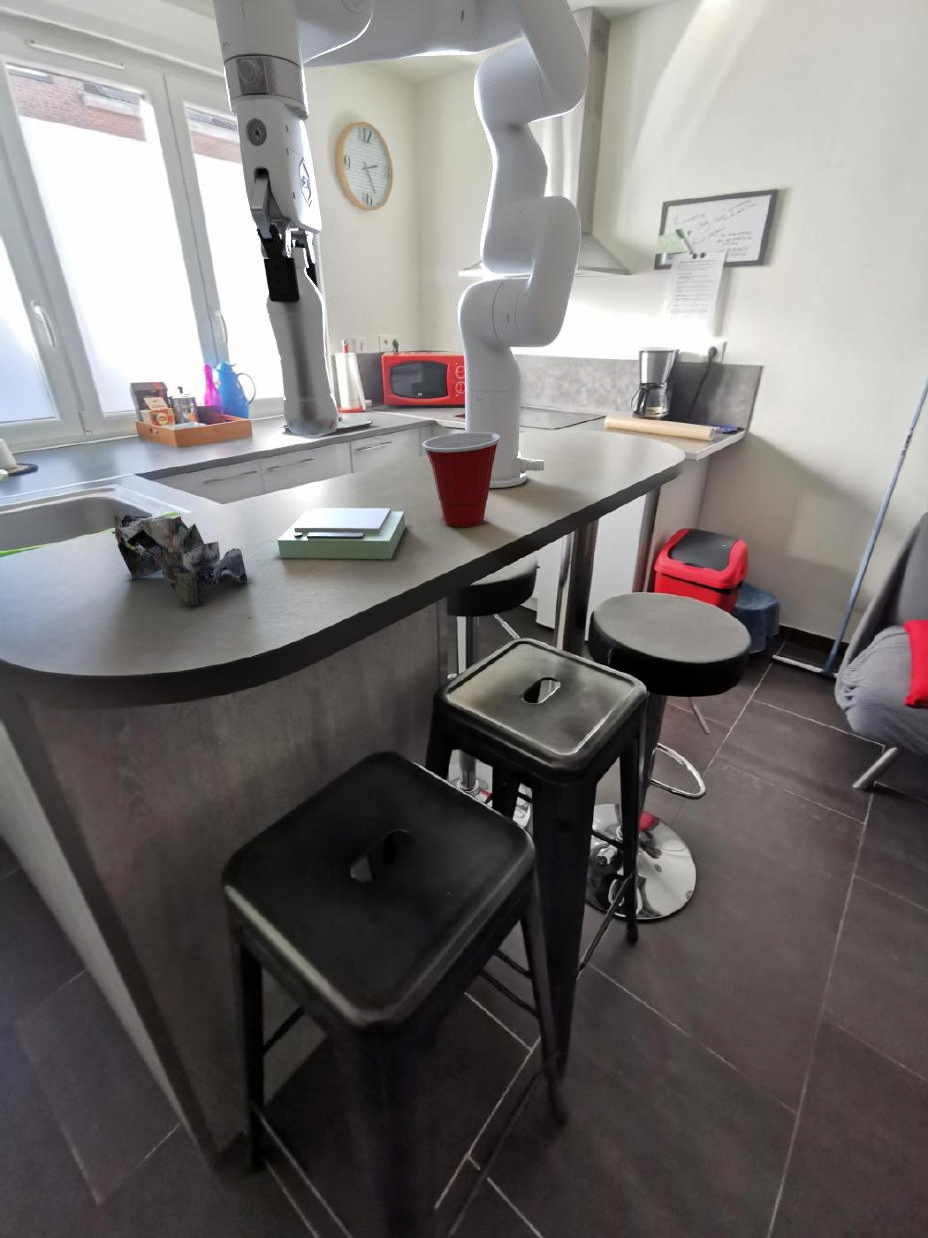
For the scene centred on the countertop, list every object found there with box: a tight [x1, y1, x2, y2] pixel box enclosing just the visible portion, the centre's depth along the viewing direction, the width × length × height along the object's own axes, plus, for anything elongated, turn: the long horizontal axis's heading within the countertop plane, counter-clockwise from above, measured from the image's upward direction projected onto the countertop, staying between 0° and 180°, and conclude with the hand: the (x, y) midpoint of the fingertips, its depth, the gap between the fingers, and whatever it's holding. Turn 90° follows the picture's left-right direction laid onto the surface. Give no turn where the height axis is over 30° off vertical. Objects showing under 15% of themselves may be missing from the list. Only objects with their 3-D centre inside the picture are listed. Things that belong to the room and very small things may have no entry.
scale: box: [277, 507, 406, 560], centre depth 75 cm, size 14×12×3 cm
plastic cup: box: [421, 431, 500, 528], centre depth 80 cm, size 11×11×12 cm
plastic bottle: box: [265, 246, 340, 438], centre depth 67 cm, size 6×7×20 cm
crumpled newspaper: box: [111, 514, 248, 607], centre depth 63 cm, size 12×11×15 cm
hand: (295, 300), depth 65 cm, fingers closed on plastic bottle, 6 cm apart
